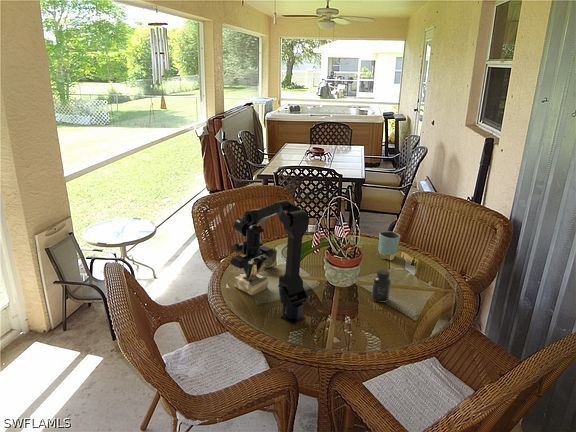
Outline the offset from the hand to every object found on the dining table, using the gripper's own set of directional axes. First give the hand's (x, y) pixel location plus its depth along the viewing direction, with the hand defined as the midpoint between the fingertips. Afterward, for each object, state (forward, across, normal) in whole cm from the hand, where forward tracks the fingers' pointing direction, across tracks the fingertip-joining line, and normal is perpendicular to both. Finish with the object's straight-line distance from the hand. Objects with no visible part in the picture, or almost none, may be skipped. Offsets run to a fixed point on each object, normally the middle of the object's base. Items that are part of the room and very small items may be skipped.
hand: (251, 275), depth 169 cm
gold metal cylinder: (+2, 0, 0) cm, 2 cm away
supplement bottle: (+5, -31, +42) cm, 52 cm away
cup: (+5, -19, -8) cm, 21 cm away
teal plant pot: (+5, -72, +24) cm, 76 cm away
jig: (+5, 0, 0) cm, 5 cm away
